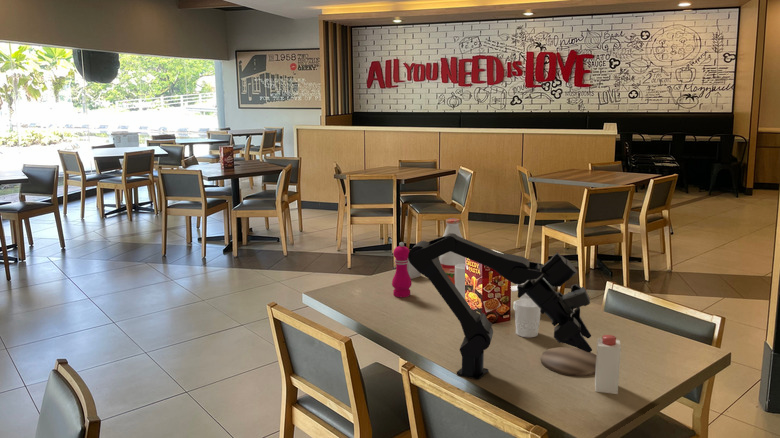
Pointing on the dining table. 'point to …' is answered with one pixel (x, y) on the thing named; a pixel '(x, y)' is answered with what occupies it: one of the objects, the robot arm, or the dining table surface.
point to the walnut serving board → (569, 361)
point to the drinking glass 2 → (460, 278)
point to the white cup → (527, 318)
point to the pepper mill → (401, 272)
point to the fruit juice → (451, 258)
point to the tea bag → (412, 271)
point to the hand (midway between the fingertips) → (590, 344)
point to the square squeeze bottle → (607, 364)
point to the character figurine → (514, 289)
